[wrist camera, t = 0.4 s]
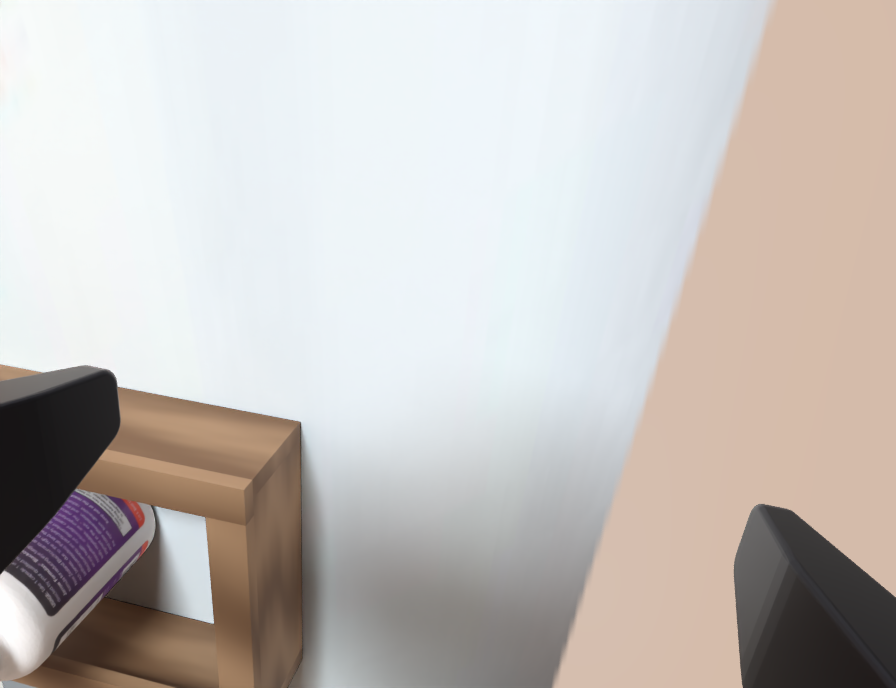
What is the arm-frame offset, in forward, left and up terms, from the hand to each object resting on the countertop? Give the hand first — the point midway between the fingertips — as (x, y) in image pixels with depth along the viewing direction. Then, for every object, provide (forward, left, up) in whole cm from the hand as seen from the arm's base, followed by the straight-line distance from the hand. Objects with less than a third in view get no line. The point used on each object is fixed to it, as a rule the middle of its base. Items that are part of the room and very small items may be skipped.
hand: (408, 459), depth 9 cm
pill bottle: (-15, +17, -14) cm, 27 cm away
